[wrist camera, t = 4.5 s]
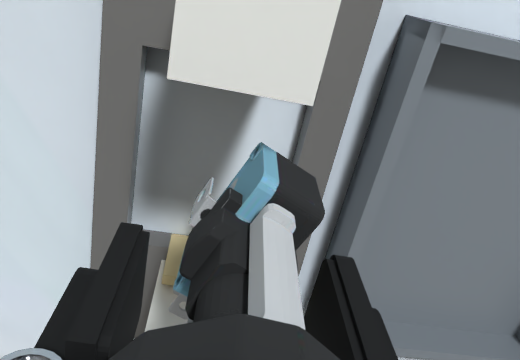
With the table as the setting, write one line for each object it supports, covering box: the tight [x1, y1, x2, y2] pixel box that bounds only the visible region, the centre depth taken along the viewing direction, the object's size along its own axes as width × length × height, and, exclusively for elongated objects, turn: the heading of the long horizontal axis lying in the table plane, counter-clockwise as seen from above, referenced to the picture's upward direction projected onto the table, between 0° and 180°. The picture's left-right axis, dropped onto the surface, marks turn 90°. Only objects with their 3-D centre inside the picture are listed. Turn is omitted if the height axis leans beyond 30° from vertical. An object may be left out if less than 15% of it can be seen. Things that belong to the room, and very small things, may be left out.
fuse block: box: [90, 0, 383, 338], centre depth 16 cm, size 10×21×8 cm, turn 168°
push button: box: [109, 142, 340, 360], centre depth 10 cm, size 7×5×10 cm
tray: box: [325, 15, 520, 360], centre depth 21 cm, size 13×16×2 cm
